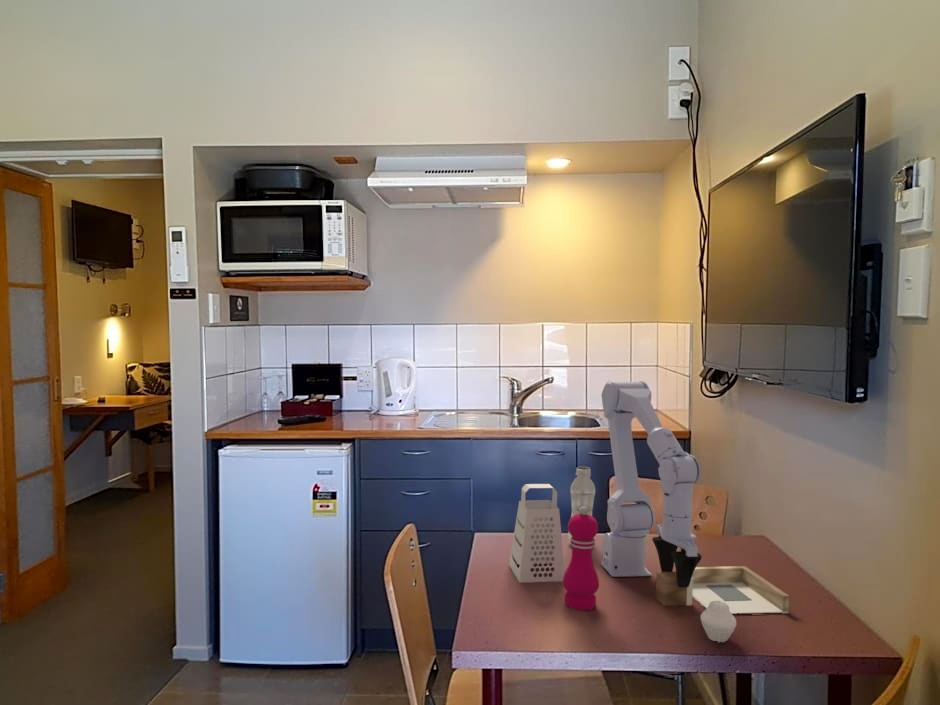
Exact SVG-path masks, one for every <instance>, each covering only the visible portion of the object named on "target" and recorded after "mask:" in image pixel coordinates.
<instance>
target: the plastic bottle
mask: <svg viewBox="0 0 940 705" xmlns="http://www.w3.org/2000/svg"><path fill="white" fill-rule="evenodd" d="M591 472H592V471H591V468H590V467H588V466H577V467H576V470H575V478H574V480H573V481H572V483H571V485H570V488H569V489H570V490H569V492H570V500H571V516H570V518H571V517H572V516H574V515H576V514H580V513H579V509H580V508H581V507H583V506H584V507H586V508H587V509H588V513H587V514H589V515H591V516H592V517H593V509H594V501H595V495H596V486H595V483H594V482H593V481H592V479H591V475H592V473H591ZM567 534H568V535H567V536H568V541H569V542H570V541H571V540H570V537H571V536H572V535H571V534H570V533H569V531H568V533H567Z"/></svg>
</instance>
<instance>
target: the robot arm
mask: <svg viewBox="0 0 940 705" xmlns="http://www.w3.org/2000/svg"><path fill="white" fill-rule="evenodd" d="M601 402H602V409H603V415H604V416H603V417H604V418H605V419H607V422H608V424H607V425H608V432H609V433H608V434H609V439H610V446H611V448H610V449H611V454H612V462H613V469H614V476H615V477H614V478H615V485H616V491H615V492H614V493H613V494H612V495H611V496H610V497H609V498H608V499H607V501H606V502H607V513H606V521H607V522H606V523H607V525H608V527H609V528H610V530H611V531H612V532H606V533H604V535H603V538H602V554H601V555H602V556H601V558H602V559H601V563H600V565H601V566H602V567H603V568H604V570H606V572H608V575H610V576H611V577H613V578H614V577H616V578H617V577H618V578H619V577H620V578H621V577H651V576H653V574H652V573H651V572H650V571H649V570H648V569H647V568H646V554H647V535H650V531H651V530H653V528H654V527H655V525H656V524H655V523H656V513H655V510H654V507H653V506H652V503H651V502H652V501H651V497H650V496H649V495H647V494H646V493H645V492H644V491H643V490H641V489H640V482H639V481H640V480H639V476H638V469H637V462H636V454H635V446H634V440H633V434H632V426H631V425H632V424H631V423H632V421H633V420H634V419H635V418H636V420H638V422H639V424H640V425H641V426H642V428H643V430H645V432H646V434H647V435H648V436H647V438H646V443H647V445H648V447H649V449H650V451H651V452H652V454H653V455H654V458H655V459H656V461H657V463H658V464H659V467H658V468H657V470H658V477H659V478H660V484H661V485H660V488H661V491H662V492H663V497H662V498H663V499H662V500H663V502H662V524H657V526H656V534H657V535H658V536H653V537H652V542H653V543H654V547H655V549H656V552H657V555H658V561H659V566H660V570H661V571H660V572H674V571H673V570H674V567H675V572H676V579H677V585H678V587H689V584H690V581H691V578H692V575H693V572H694V570H695V568H696V567H698V564H699V563H700V562H701V560H702V555H701V554H700V553H699V552H698V550H699V547H698V546H697V545H696V544H695V541H694V540H697V536H696V535H695V534H694V533H692V521H693V500H694V499H693V497H694V496H693V494H694V484H696V483H697V482H698V481H699V479H700V476H701V468H700V467H701V466H700V463H699V462H698V460H697V458H696V456H694V455H692V454H689V453H688V451H684V449H683V447H682V446H681V445H680V443H679V441H678V440H677V438H676V437H675V435H674V433H673V432H672V430H671V429H670V428H667V427H663V425H662V423H661V421H660V418H659V416H658V415H657V412H656V411H655V409H654V407H653V404H652V391H651V389H650V387H649V385H648V384H647V383H646V382H645V381H643V380H640V381H613V380H609V381H607V382H606V383H605V384H604V386H603V389H602V392H601ZM624 503H625V504H624ZM627 503H629V504H627ZM678 548H679V549H680V551H677V550H678Z"/></svg>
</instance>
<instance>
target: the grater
mask: <svg viewBox="0 0 940 705" xmlns="http://www.w3.org/2000/svg"><path fill="white" fill-rule="evenodd" d="M530 489H552V498H551V499H552V500H550V499H536V500H535V499H534V500H533V499H532V500H531V499H529V500H528V499H527V500H526V493H527V492H528V491H529V490H530ZM520 495H521V496H520V500H519V501H518V506H517V507H518V508H517V513H516V518H515V525H514V532H513V538H512V545H511V552H510V557H509V563H508V566H509V567H510V569H511V570H512V573H513V574H514V576H515V578H516V579H517V581H518V583H544V582H545V583H548V582H553V583H554V582H563V577H564V574H565V571H566V569H565V561H564V560H565V559H564V551H563V550H564V549H563V537H562V536H563V535H562V528H561V516H560V508H559V507H558V491H557V490H556V489H555V488H554V487H553V486H552V485H551V484H550V483H528V484H527V483H526V484H523V486H522V487H521V494H520ZM551 564H552V565H551ZM517 565H518V566H519V567H518V566H517ZM535 565H536V566H535ZM539 565H541V566H539ZM550 565H551V566H550ZM547 568H548V569H549V570H548V571H547ZM552 568H553V569H554V570H552ZM531 569H533V571H531ZM536 569H539V570H538V571H537V570H536ZM541 569H544V570H543V571H542V570H541ZM535 574H536V576H534V575H535ZM539 574H541V576H540V575H539ZM545 574H547V575H546V576H545ZM550 574H551V576H549V575H550Z"/></svg>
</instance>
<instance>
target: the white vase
mask: <svg viewBox="0 0 940 705" xmlns="http://www.w3.org/2000/svg"><path fill="white" fill-rule="evenodd" d="M700 621H701V625H702V627H703V629H704V631H705V634H706V635H707V638H708V639H710V640H711V641H713V642H715V641H718V642H717V643H720V642H721V641H722V642H723V643H726V642H727V641H728V640H729V639H730V637H731V635H732V634H733V633H734V632H735V628H736V627H737V619H736V617H735V615H732V614H731V612H730V611H729V606H728V605H727V604H726V603H724V602H722V601H712V602H711V603H709V607H708V608H707V609H704V610H703V611H702V613H701V614H700ZM725 641H726V642H725ZM722 642H721V643H722Z"/></svg>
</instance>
